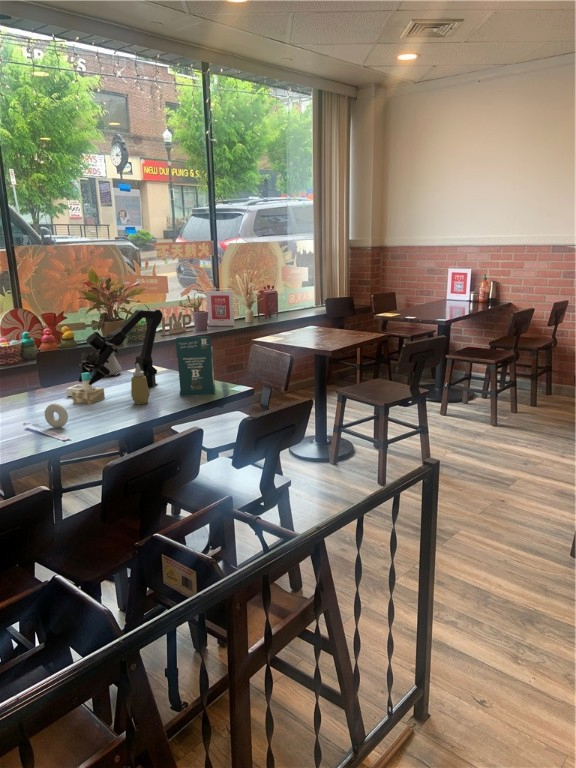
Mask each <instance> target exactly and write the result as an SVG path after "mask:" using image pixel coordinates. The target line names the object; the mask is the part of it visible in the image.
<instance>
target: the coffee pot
mask: <svg viewBox="0 0 576 768" xmlns="http://www.w3.org/2000/svg"><path fill="white" fill-rule="evenodd" d="M108 361H109V362H108V363H106V364H105V365H104V366H105V367H106V368H108V369H109V370H110V374H109V375H115V376H117V375H116V374H117V373H119V374H120V373H121V372H122V367H121V365H120V363H119V361H118V360H117V358H116V356H115V353H112V355H111V356H110V358H109V359H108Z"/></svg>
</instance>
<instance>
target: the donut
mask: <svg viewBox="0 0 576 768" xmlns="http://www.w3.org/2000/svg"><path fill="white" fill-rule="evenodd" d="M55 413H56V414H57V415H58V419H57V418H56V416H55ZM68 414H69V413H68V411H67V410H66V408H65V407H64V406H63V405H61V404H60V403H55V402H54V403H51V404H49V405H47V406H46V408H45V410H44V418H45V421H46V422H47V423H48V425H49V426H51V427H53V428H56V429H58V428H63V427H64V426H65V425H66V424H67V423H68V421H69V415H68Z"/></svg>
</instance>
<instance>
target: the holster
mask: <svg viewBox="0 0 576 768" xmlns="http://www.w3.org/2000/svg"><path fill="white" fill-rule="evenodd" d="M82 388H83V384H75V385H72V386H70V387H67V388H66V389H65V390H66V397H67V396H72V392H74V391H77V390H79V389H82ZM71 398H73V396H72V397H71Z"/></svg>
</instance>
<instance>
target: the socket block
mask: <svg viewBox="0 0 576 768" xmlns="http://www.w3.org/2000/svg"><path fill="white" fill-rule="evenodd" d="M92 389H93V391H91V392H84V390H83V388H82V389H79V390H77V391H74V392H72V396H73V397H72V402H73V403H74V404H89V405H92V404H95V403H97V402H99V401H101V400H103V399H104V400H105V399H106V398H105V396H106V395H105V388H104V387H93V386H92ZM73 403H72V404H73Z"/></svg>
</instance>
